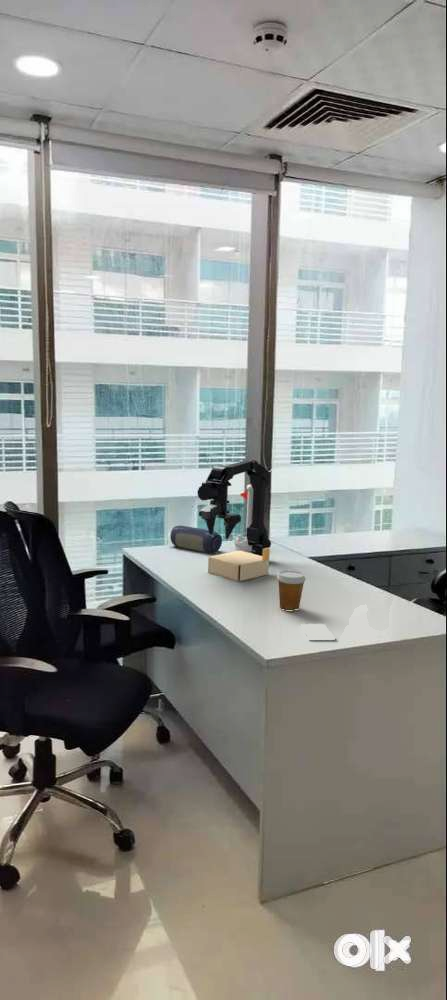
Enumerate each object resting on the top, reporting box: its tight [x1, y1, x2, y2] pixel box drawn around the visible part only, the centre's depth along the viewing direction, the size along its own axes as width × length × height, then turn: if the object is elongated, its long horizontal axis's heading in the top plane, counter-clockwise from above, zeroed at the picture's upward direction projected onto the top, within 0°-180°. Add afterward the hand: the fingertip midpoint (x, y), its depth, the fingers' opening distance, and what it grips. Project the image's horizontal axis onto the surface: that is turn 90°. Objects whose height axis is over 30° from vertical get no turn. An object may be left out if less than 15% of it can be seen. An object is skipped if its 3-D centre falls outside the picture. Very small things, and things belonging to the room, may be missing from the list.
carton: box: [207, 550, 270, 583], centre depth 260 cm, size 18×16×6 cm
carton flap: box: [239, 547, 271, 582], centre depth 254 cm, size 16×1×11 cm, turn 135°
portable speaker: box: [169, 525, 223, 554], centre depth 297 cm, size 25×10×10 cm, turn 58°
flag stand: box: [232, 484, 253, 553], centre depth 301 cm, size 13×13×30 cm
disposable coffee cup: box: [276, 570, 306, 611], centre depth 219 cm, size 10×10×12 cm
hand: (218, 536), depth 260 cm, fingers open, 9 cm apart
